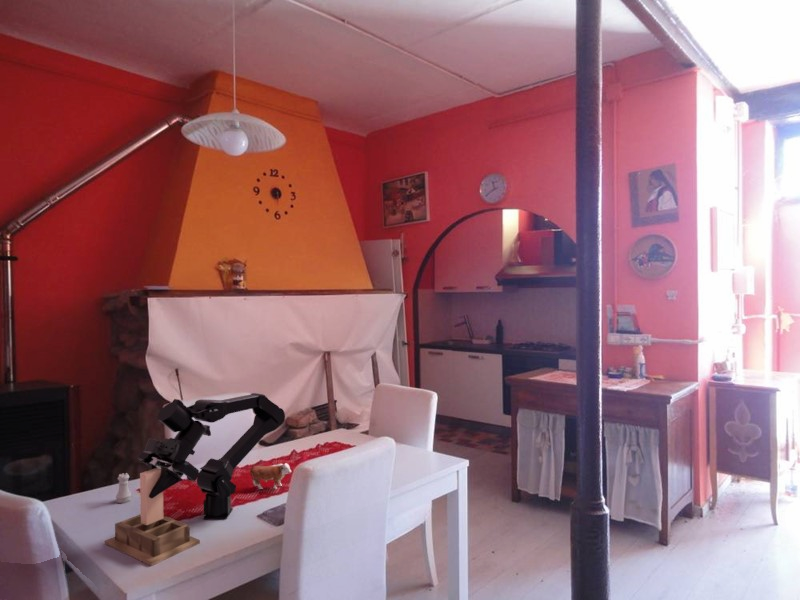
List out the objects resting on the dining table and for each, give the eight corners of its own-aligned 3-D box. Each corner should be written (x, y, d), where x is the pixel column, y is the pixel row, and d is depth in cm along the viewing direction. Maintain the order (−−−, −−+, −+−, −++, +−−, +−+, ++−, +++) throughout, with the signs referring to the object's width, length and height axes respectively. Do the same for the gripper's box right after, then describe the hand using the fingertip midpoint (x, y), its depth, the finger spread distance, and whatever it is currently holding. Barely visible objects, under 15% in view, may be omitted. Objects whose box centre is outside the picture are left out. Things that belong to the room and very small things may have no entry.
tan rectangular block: (157, 516, 134) (156, 467, 134) (163, 518, 133) (162, 469, 133) (140, 522, 130) (140, 473, 130) (146, 525, 129) (145, 475, 129)
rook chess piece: (114, 504, 156) (114, 477, 156) (116, 499, 160) (115, 473, 160) (131, 502, 158) (131, 475, 158) (132, 496, 162) (132, 471, 162)
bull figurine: (290, 490, 167) (290, 465, 167) (248, 490, 167) (248, 465, 167) (293, 485, 171) (293, 460, 171) (252, 485, 171) (252, 460, 171)
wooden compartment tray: (153, 524, 143) (152, 507, 142) (199, 543, 132) (199, 524, 132) (104, 543, 132) (104, 524, 132) (151, 565, 121) (151, 545, 121)
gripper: (144, 420, 140) (103, 473, 131) (187, 429, 130) (146, 488, 121) (171, 442, 146) (134, 494, 137) (214, 453, 136) (177, 510, 127)
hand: (146, 496), depth 130 cm, fingers closed on tan rectangular block, 2 cm apart
